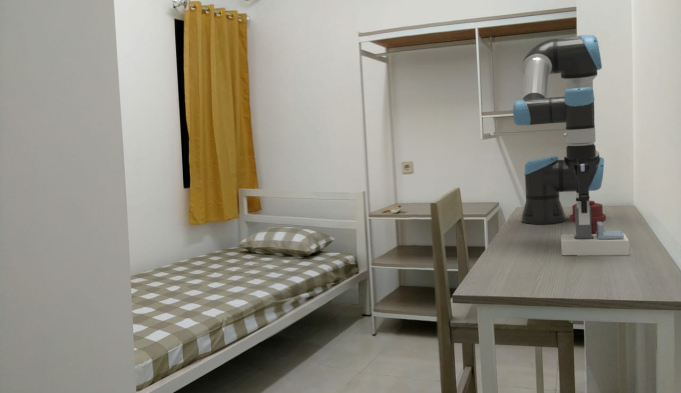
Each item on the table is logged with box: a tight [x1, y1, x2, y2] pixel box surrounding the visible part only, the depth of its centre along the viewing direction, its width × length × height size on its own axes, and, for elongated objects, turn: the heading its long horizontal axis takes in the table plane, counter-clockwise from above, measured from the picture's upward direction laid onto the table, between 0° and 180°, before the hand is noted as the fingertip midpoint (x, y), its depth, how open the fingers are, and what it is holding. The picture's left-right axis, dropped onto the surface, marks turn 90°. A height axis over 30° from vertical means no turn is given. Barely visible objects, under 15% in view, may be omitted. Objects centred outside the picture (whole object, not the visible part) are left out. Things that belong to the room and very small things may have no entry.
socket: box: [560, 233, 630, 256], centre depth 173 cm, size 10×17×4 cm, turn 71°
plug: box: [574, 207, 592, 239], centre depth 173 cm, size 4×4×14 cm
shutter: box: [596, 222, 624, 239], centre depth 171 cm, size 7×6×4 cm
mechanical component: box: [569, 200, 607, 234], centre depth 185 cm, size 12×10×10 cm
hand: (583, 220), depth 173 cm, fingers open, 13 cm apart
